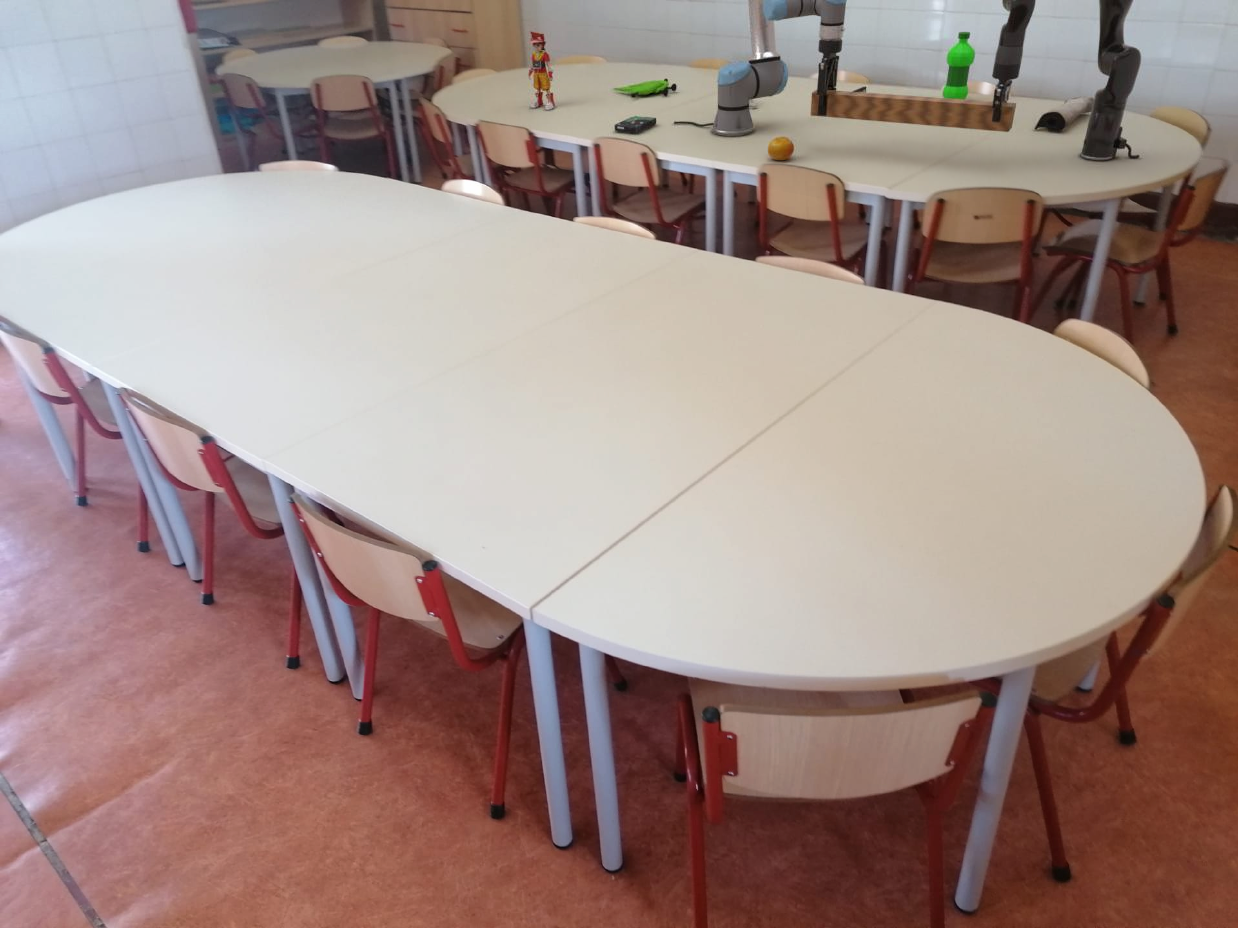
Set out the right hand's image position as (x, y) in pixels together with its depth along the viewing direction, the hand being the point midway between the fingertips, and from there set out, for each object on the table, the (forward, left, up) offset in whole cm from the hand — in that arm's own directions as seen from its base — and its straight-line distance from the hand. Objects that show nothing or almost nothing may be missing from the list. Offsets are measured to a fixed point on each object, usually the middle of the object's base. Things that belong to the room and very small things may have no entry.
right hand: (997, 119), depth 280 cm
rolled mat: (-46, -41, -14) cm, 63 cm away
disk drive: (+106, -78, -14) cm, 132 cm away
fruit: (+62, -24, -14) cm, 68 cm away
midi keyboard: (+17, -89, -14) cm, 92 cm away
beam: (+23, -16, -3) cm, 28 cm away
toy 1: (+141, -124, -14) cm, 188 cm away
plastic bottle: (-22, -81, -14) cm, 85 cm away
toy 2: (+97, -139, -14) cm, 170 cm away
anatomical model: (+59, -102, -14) cm, 118 cm away
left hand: (+45, -33, -2) cm, 56 cm away
